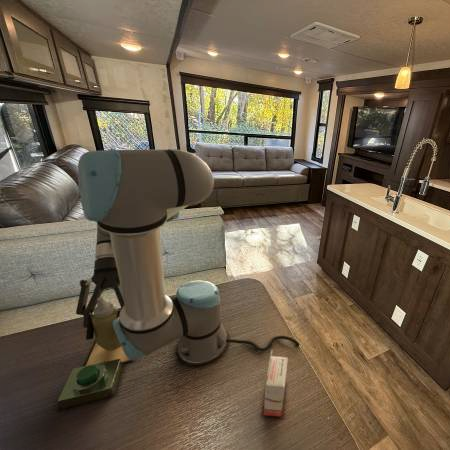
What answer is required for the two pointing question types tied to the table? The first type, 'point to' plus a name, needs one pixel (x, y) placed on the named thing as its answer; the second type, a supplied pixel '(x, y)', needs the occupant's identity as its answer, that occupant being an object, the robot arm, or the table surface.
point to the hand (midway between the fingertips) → (105, 336)
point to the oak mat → (106, 355)
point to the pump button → (87, 375)
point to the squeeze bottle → (105, 325)
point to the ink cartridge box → (275, 386)
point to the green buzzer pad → (91, 384)
